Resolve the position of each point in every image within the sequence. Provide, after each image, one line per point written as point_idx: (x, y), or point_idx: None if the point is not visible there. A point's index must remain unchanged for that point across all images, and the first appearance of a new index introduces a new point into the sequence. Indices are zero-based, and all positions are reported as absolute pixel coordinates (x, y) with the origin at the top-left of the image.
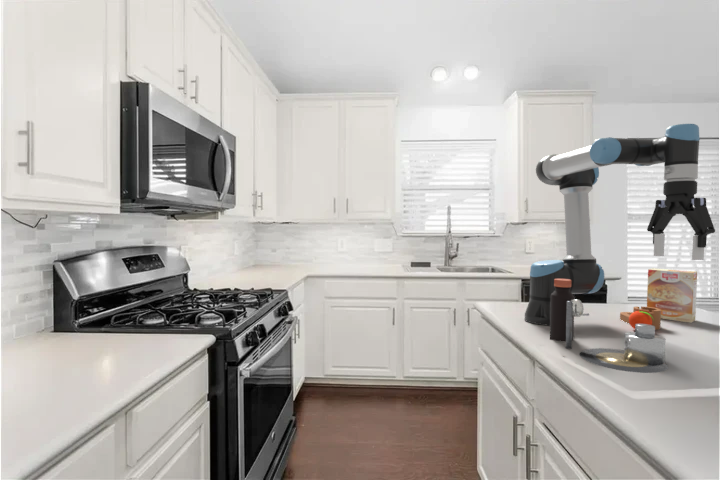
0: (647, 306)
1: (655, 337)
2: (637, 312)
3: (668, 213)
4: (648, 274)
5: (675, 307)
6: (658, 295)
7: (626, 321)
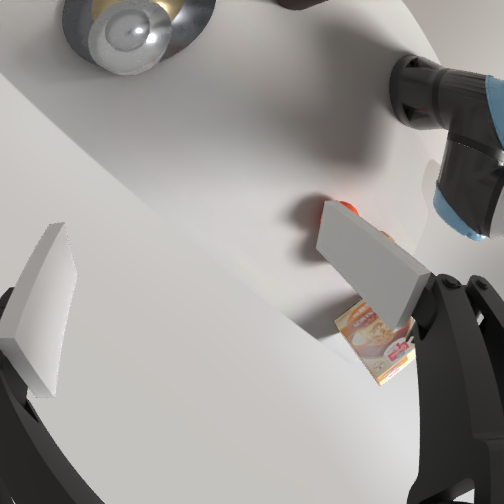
0: None
1: (117, 53)
2: None
3: (466, 481)
4: None
5: (361, 321)
6: None
7: None
